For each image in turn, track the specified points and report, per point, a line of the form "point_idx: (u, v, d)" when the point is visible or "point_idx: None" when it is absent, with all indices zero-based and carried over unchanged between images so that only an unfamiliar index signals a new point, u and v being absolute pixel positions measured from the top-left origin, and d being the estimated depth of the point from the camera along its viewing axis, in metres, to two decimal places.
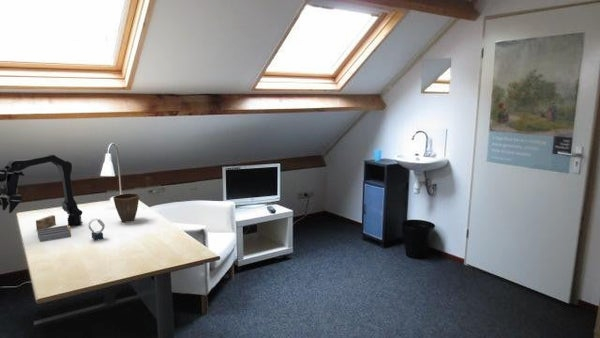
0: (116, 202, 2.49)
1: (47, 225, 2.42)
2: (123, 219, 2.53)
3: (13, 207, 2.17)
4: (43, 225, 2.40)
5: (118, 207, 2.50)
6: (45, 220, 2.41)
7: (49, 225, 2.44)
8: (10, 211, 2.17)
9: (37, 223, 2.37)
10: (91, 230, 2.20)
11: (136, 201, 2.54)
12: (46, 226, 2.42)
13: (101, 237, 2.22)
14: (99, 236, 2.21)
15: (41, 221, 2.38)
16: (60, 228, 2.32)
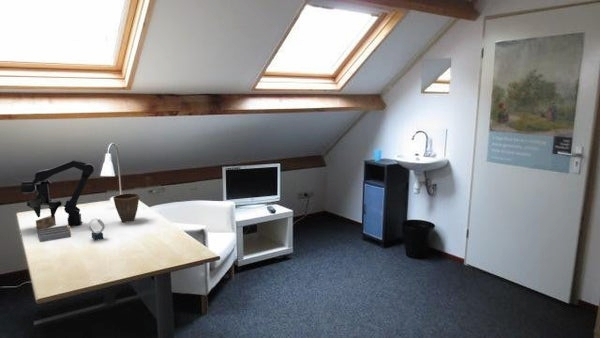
0: (116, 202, 2.49)
1: (47, 225, 2.42)
2: (123, 219, 2.53)
3: (54, 212, 2.42)
4: (43, 225, 2.40)
5: (118, 207, 2.50)
6: (45, 220, 2.41)
7: (49, 225, 2.44)
8: (53, 216, 2.41)
9: (37, 223, 2.37)
10: (91, 230, 2.20)
11: (136, 201, 2.54)
12: (46, 226, 2.42)
13: (101, 237, 2.22)
14: (99, 236, 2.21)
15: (41, 221, 2.38)
16: (60, 228, 2.32)
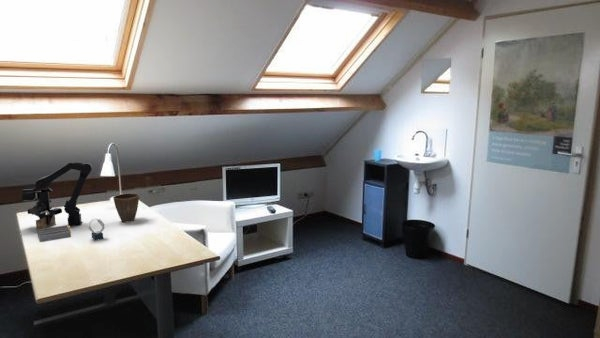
0: (116, 202, 2.49)
1: None
2: (123, 219, 2.53)
3: (50, 219, 2.43)
4: (43, 224, 2.40)
5: (118, 207, 2.50)
6: (45, 220, 2.41)
7: (49, 225, 2.44)
8: (48, 223, 2.43)
9: (37, 223, 2.37)
10: (91, 230, 2.20)
11: (136, 201, 2.54)
12: (46, 226, 2.42)
13: (101, 237, 2.22)
14: (99, 236, 2.21)
15: (41, 221, 2.38)
16: (60, 228, 2.32)
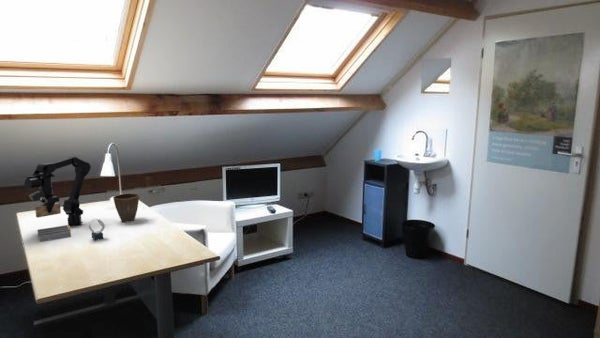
0: (116, 202, 2.49)
1: None
2: (123, 219, 2.53)
3: (51, 207, 2.31)
4: (42, 212, 2.29)
5: (118, 207, 2.50)
6: (45, 207, 2.30)
7: (51, 213, 2.33)
8: (49, 211, 2.31)
9: (36, 209, 2.28)
10: (91, 230, 2.20)
11: (136, 201, 2.54)
12: (46, 213, 2.31)
13: (101, 237, 2.22)
14: (99, 236, 2.21)
15: (39, 208, 2.28)
16: (60, 228, 2.32)
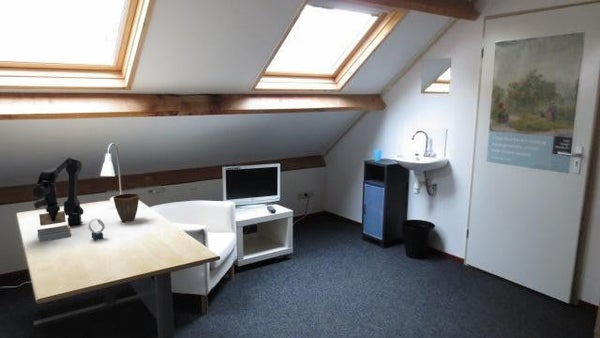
0: (116, 202, 2.49)
1: None
2: (123, 219, 2.53)
3: (54, 216, 2.25)
4: (46, 220, 2.24)
5: (118, 207, 2.50)
6: (49, 215, 2.25)
7: (55, 221, 2.27)
8: (53, 220, 2.25)
9: None
10: (91, 230, 2.20)
11: (136, 201, 2.54)
12: (50, 222, 2.25)
13: (101, 237, 2.22)
14: (99, 236, 2.21)
15: (42, 216, 2.23)
16: (60, 228, 2.32)
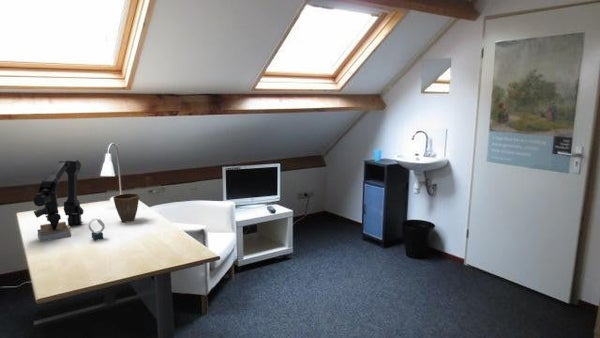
0: (116, 202, 2.49)
1: (53, 231, 2.27)
2: (123, 219, 2.53)
3: (55, 225, 2.25)
4: (47, 231, 2.25)
5: (118, 207, 2.50)
6: (50, 226, 2.25)
7: None
8: (54, 229, 2.25)
9: None
10: (91, 230, 2.20)
11: (136, 201, 2.54)
12: None
13: (101, 237, 2.22)
14: (99, 236, 2.21)
15: (43, 227, 2.24)
16: None
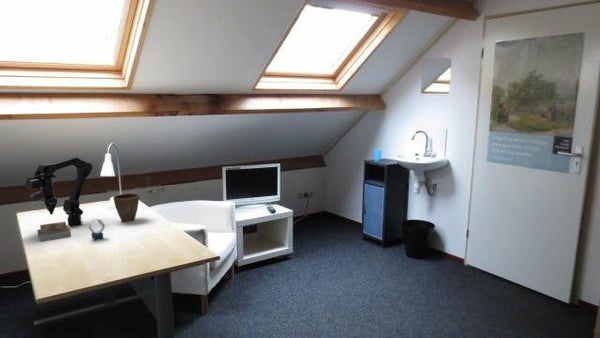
0: (116, 202, 2.49)
1: (53, 231, 2.27)
2: (123, 219, 2.53)
3: (52, 209, 2.30)
4: (47, 231, 2.25)
5: (118, 207, 2.50)
6: (50, 226, 2.25)
7: None
8: (51, 213, 2.30)
9: None
10: (91, 230, 2.20)
11: (136, 201, 2.54)
12: None
13: (101, 237, 2.22)
14: (99, 236, 2.21)
15: (43, 227, 2.24)
16: None
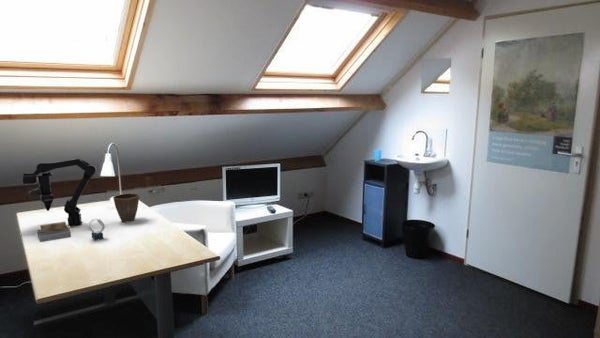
0: (116, 202, 2.49)
1: (53, 231, 2.27)
2: (123, 219, 2.53)
3: (49, 205, 2.38)
4: (47, 231, 2.25)
5: (118, 207, 2.50)
6: (50, 226, 2.25)
7: None
8: (47, 209, 2.39)
9: None
10: (91, 230, 2.20)
11: (136, 201, 2.54)
12: None
13: (101, 237, 2.22)
14: (99, 236, 2.21)
15: (43, 227, 2.24)
16: None
